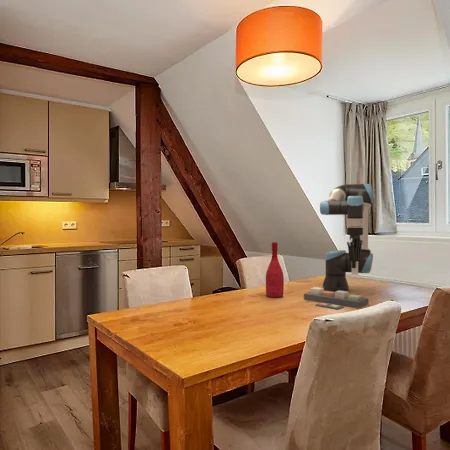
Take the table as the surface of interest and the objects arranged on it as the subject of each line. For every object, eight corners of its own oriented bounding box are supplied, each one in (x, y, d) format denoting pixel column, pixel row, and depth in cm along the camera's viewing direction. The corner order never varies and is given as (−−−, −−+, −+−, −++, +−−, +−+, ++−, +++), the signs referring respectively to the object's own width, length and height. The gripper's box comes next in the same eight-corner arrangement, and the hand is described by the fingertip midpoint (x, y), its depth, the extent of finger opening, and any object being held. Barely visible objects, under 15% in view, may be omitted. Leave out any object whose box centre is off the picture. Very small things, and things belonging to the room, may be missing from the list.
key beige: (334, 298, 201) (334, 291, 201) (339, 296, 204) (339, 290, 204) (343, 299, 197) (343, 293, 197) (348, 297, 201) (348, 291, 201)
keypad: (303, 299, 209) (303, 293, 209) (315, 295, 218) (315, 290, 218) (358, 308, 189) (358, 302, 189) (368, 303, 198) (368, 298, 197)
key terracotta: (322, 298, 205) (322, 292, 205) (326, 296, 209) (327, 290, 209) (331, 299, 202) (331, 293, 202) (335, 298, 206) (335, 292, 206)
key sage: (347, 302, 196) (347, 296, 196) (352, 300, 200) (352, 294, 200) (357, 303, 193) (357, 297, 193) (361, 302, 196) (361, 295, 196)
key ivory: (310, 294, 210) (310, 288, 210) (315, 292, 214) (315, 287, 214) (318, 295, 207) (318, 289, 207) (323, 294, 210) (323, 288, 210)
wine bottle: (283, 294, 221) (283, 241, 220) (284, 298, 211) (284, 242, 211) (265, 294, 222) (265, 241, 221) (265, 298, 212) (265, 242, 212)
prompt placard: (315, 305, 194) (315, 304, 194) (321, 303, 199) (321, 301, 199) (337, 309, 186) (337, 307, 186) (343, 307, 191) (343, 305, 191)
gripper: (356, 227, 188) (356, 276, 189) (367, 226, 197) (367, 273, 198) (341, 227, 193) (341, 275, 194) (353, 226, 202) (353, 271, 203)
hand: (354, 274), depth 196 cm, fingers closed
